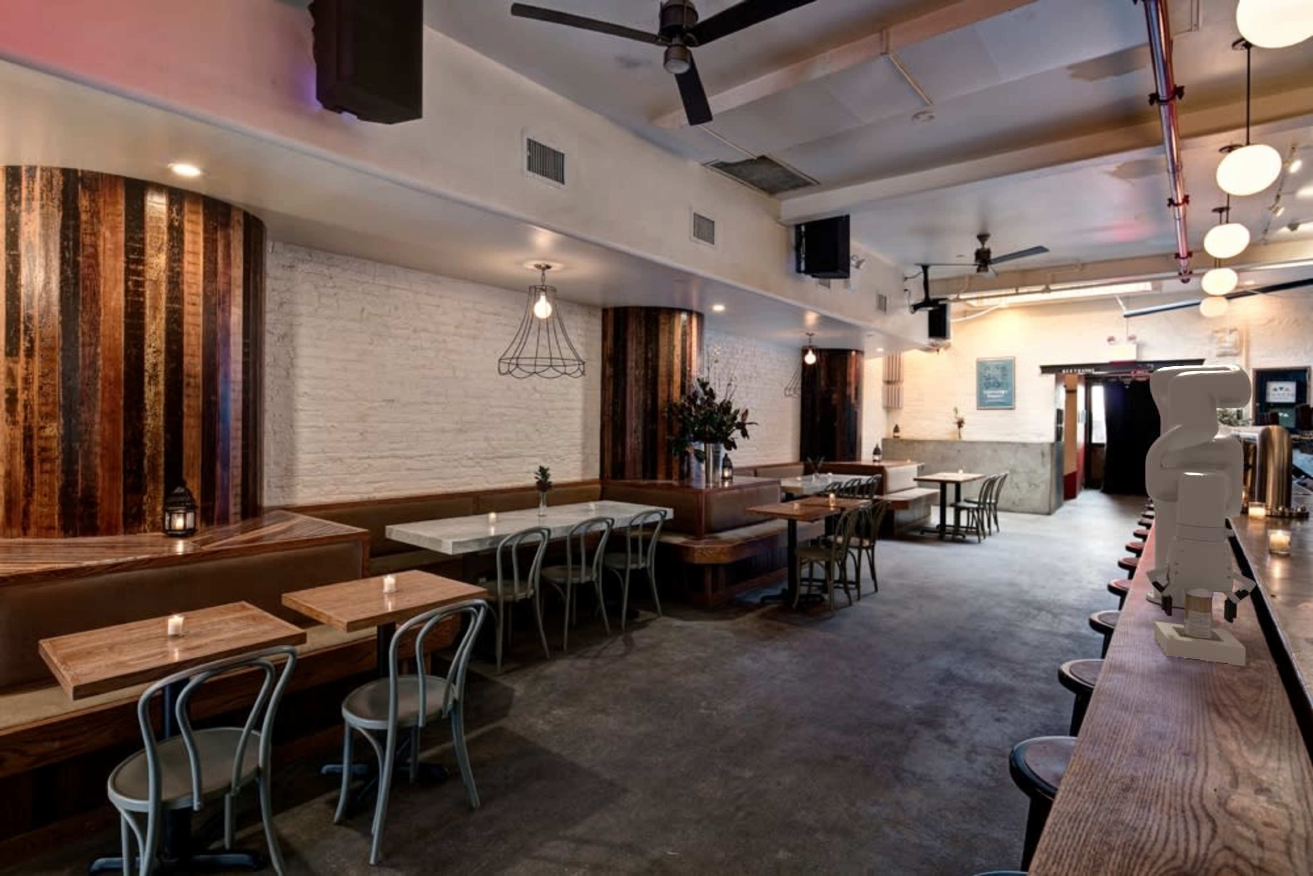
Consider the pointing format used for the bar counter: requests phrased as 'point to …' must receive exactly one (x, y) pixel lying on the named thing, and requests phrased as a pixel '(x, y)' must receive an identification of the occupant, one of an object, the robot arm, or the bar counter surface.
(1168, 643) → the collar
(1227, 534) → the robot arm
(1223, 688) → the bar counter surface
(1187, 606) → the sprinkles bottle
